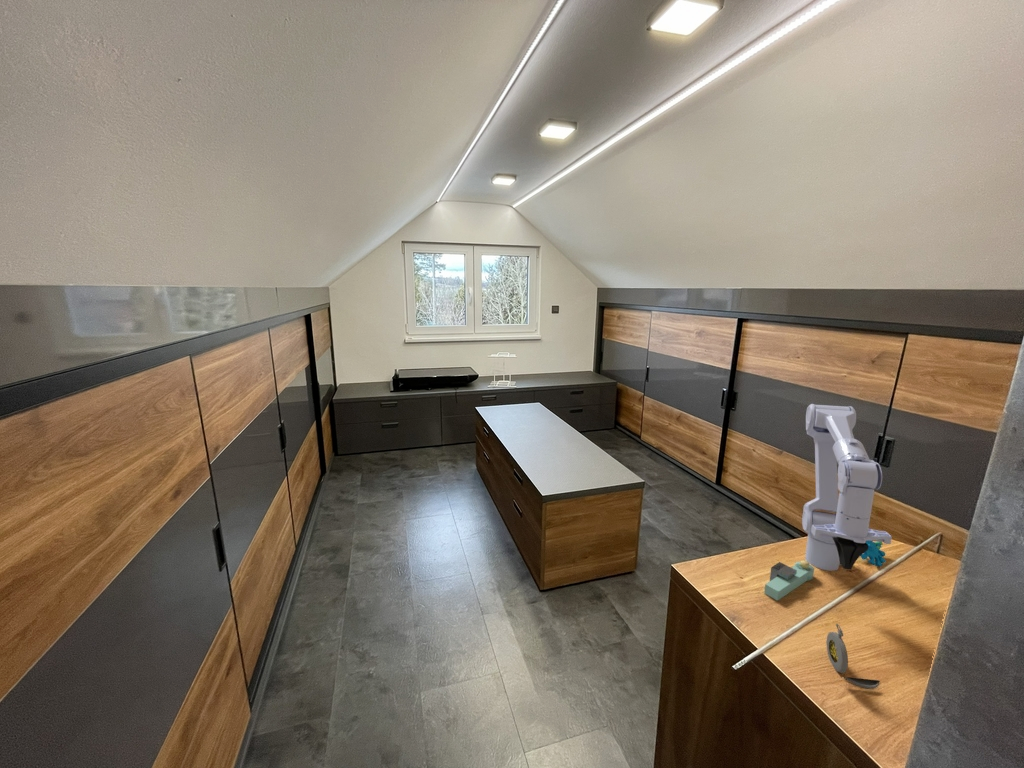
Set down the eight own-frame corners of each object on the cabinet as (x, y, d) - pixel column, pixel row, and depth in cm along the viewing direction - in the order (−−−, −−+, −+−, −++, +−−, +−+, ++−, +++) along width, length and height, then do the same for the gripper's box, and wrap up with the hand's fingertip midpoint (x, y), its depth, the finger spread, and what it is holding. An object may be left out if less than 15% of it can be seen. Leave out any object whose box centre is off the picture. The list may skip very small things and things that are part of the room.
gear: (871, 567, 105) (847, 528, 111) (850, 571, 110) (828, 534, 115) (897, 563, 109) (874, 525, 114) (876, 568, 113) (854, 531, 119)
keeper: (777, 580, 104) (779, 561, 103) (794, 589, 100) (796, 570, 99) (769, 586, 102) (771, 567, 101) (786, 595, 98) (788, 576, 97)
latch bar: (798, 568, 106) (800, 555, 105) (816, 576, 103) (817, 564, 102) (762, 592, 98) (763, 578, 97) (779, 602, 94) (781, 588, 94)
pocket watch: (888, 685, 75) (896, 639, 73) (855, 698, 73) (863, 651, 71) (841, 650, 83) (848, 607, 81) (811, 661, 81) (816, 617, 79)
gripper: (824, 518, 88) (817, 573, 91) (904, 525, 84) (894, 582, 87) (809, 503, 95) (803, 554, 97) (883, 508, 91) (874, 562, 94)
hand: (845, 566), depth 93 cm, fingers closed
